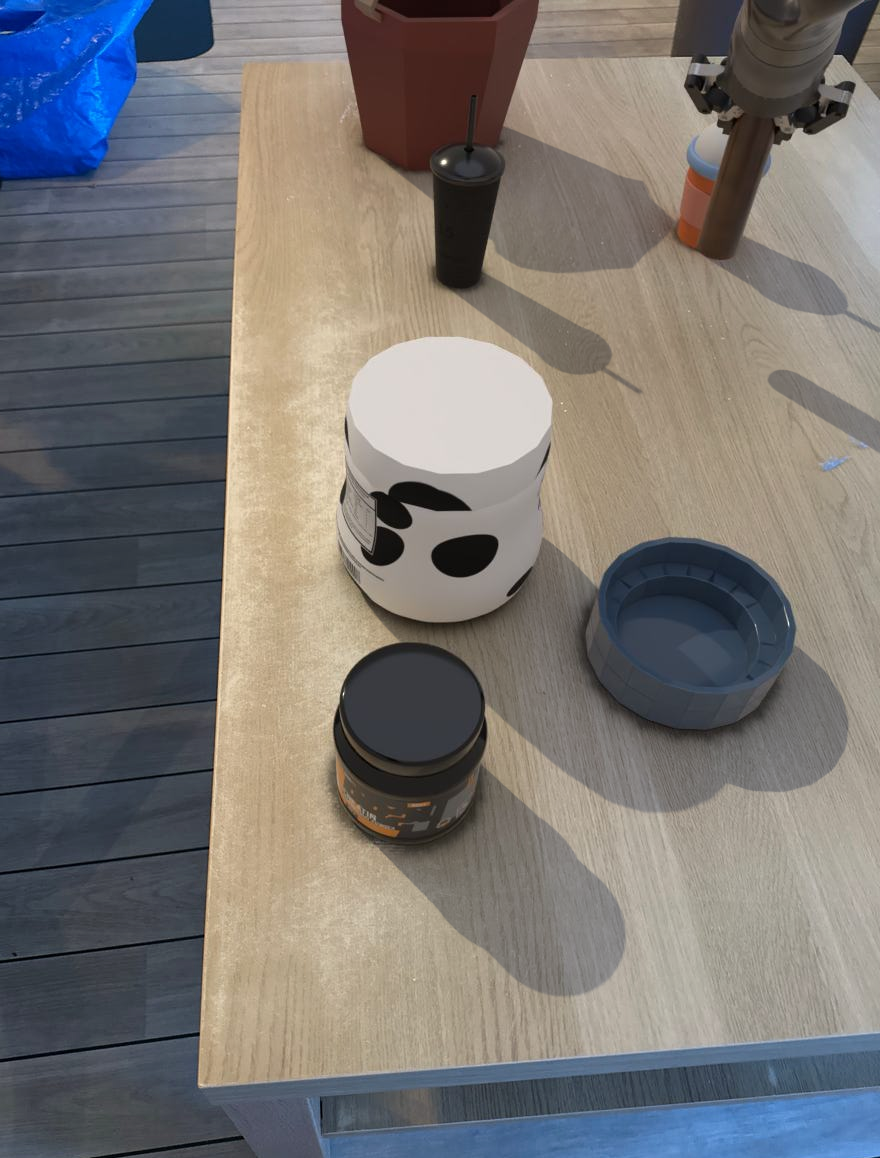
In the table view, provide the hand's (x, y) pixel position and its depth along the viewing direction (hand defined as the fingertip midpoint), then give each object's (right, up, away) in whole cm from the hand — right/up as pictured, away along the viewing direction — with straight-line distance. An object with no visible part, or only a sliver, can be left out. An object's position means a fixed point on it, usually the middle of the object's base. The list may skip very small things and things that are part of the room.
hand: (753, 128), depth 91 cm
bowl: (-10, -48, -9) cm, 50 cm away
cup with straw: (+3, 0, +26) cm, 26 cm away
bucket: (-28, +17, +37) cm, 49 cm away
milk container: (-29, -40, -4) cm, 50 cm away
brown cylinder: (-1, -8, +8) cm, 11 cm away
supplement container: (-32, -58, -17) cm, 68 cm away
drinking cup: (-26, -7, +20) cm, 34 cm away
